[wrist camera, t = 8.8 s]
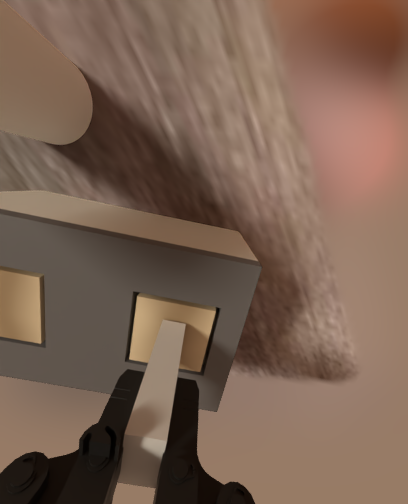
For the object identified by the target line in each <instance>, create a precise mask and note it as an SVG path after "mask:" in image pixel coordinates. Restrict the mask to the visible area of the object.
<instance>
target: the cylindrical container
mask: <svg viewBox="0 0 408 504" xmlns="http://www.w3.org/2000/svg"><path fill="white" fill-rule="evenodd" d="M92 112H93V102H92V96H91V92H90V89H89V86H88V83H87V81H86V80H85V78H84V76H83V74H82V73H81V72H80V70H79V69H78V68H77V66H75V65H74V64H73V63H72V62H71V61H70V60H69V59H68V58H67V57H66V56H64V55H63V54H62V53H61V52H60V51H59V50H58V49H57V48H56V47H55V46H53V45H52V44H51V43H50V42H49V41H48V40H47V39H46V38H45V37H44V36H42V35H41V34H40V33H39V32H38V31H37V30H36V29H35V28H34V27H32V26H31V25H30V24H29V23H28V22H27V21H26V20H25V19H24V18H23V17H21V16H20V15H19V14H18V13H17V12H16V11H15V10H14V9H13V8H12V7H10V6H9V5H8V4H7V3H6V2H5V1H4V0H0V131H4V132H7V133H11V134H15V135H19V136H23V137H27V138H30V139H34V140H38V141H42V142H46V143H50V144H55V145H66V144H69V143H73V142H74V141H76V140H78V139H79V138H80V137H81V136H82V135H83V134H84V133H85V132H86V130H87V129H88V127H89V125H90V122H91V119H92Z"/></svg>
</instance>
